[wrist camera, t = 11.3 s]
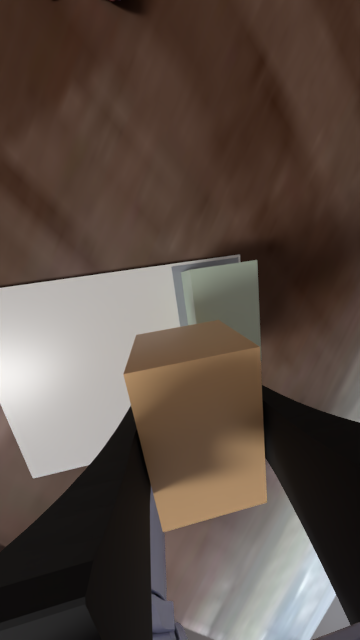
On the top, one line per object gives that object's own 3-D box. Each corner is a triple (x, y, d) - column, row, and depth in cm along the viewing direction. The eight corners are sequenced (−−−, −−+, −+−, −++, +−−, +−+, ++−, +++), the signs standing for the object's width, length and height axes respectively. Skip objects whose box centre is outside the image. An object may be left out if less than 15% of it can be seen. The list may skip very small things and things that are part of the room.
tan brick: (229, 427, 13) (266, 502, 9) (160, 444, 12) (162, 532, 8) (218, 319, 11) (260, 346, 7) (136, 334, 11) (123, 374, 6)
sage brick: (237, 342, 19) (261, 360, 15) (191, 351, 19) (202, 372, 15) (231, 264, 17) (257, 259, 13) (180, 272, 17) (189, 269, 13)
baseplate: (248, 422, 23) (251, 426, 22) (36, 472, 20) (32, 479, 20) (237, 255, 18) (240, 254, 17) (-40, 294, 16) (-49, 294, 15)
